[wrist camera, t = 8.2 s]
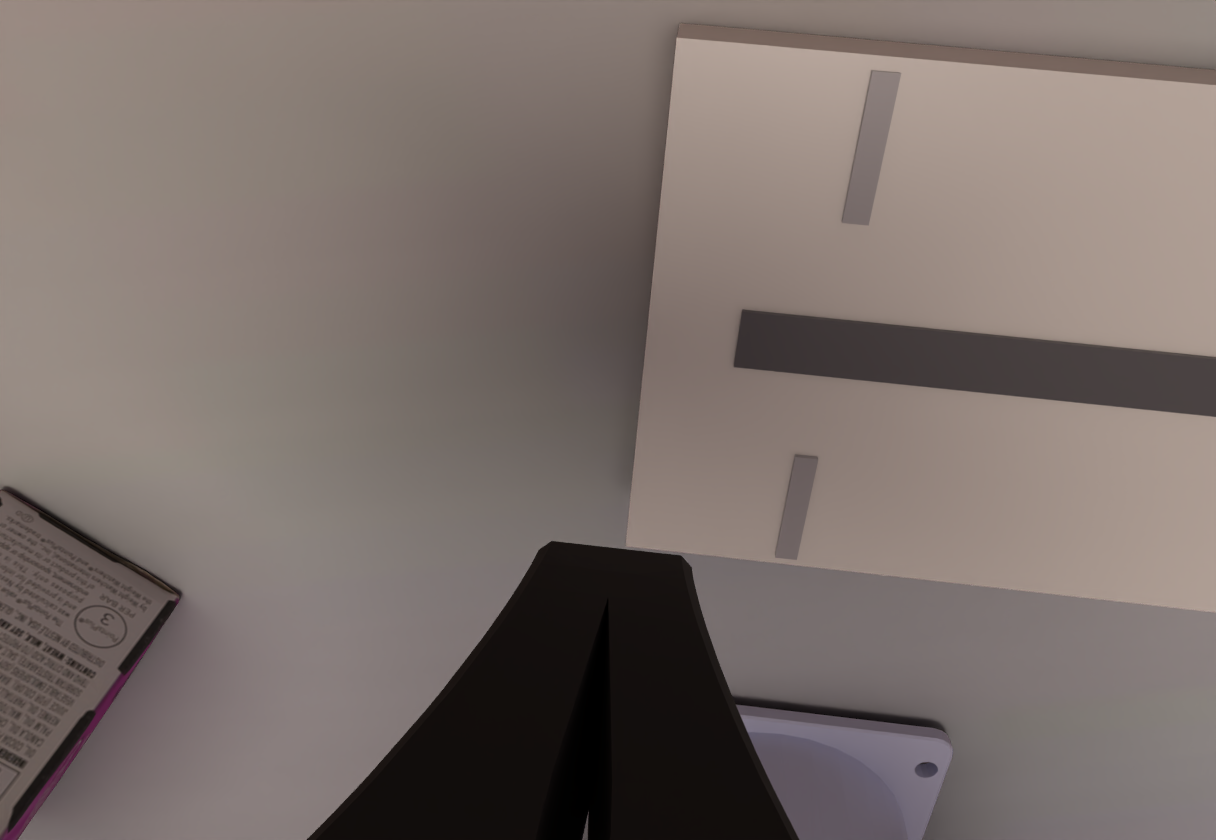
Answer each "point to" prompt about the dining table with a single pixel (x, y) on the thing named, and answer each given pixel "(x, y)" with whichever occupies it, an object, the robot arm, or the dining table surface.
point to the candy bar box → (61, 648)
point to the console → (934, 317)
